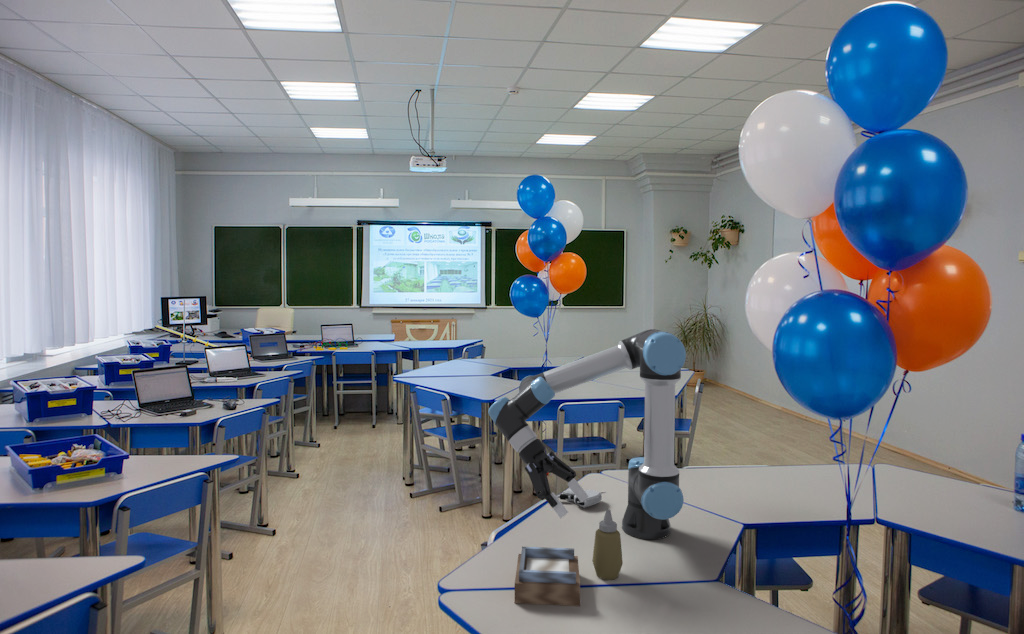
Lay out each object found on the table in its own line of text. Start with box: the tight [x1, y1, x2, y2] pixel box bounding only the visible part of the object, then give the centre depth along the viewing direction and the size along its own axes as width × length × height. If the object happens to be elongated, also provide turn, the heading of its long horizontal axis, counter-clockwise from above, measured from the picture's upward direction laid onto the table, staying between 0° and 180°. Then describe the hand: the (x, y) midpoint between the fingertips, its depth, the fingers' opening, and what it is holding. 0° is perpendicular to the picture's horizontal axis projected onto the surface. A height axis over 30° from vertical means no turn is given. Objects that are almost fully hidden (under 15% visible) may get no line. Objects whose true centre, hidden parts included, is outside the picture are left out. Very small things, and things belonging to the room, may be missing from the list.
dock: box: [514, 546, 581, 607], centre depth 153 cm, size 16×16×8 cm
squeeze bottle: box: [592, 508, 623, 581], centre depth 160 cm, size 8×8×18 cm
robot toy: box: [555, 488, 607, 509], centre depth 213 cm, size 12×4×15 cm
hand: (575, 507), depth 164 cm, fingers open, 13 cm apart
